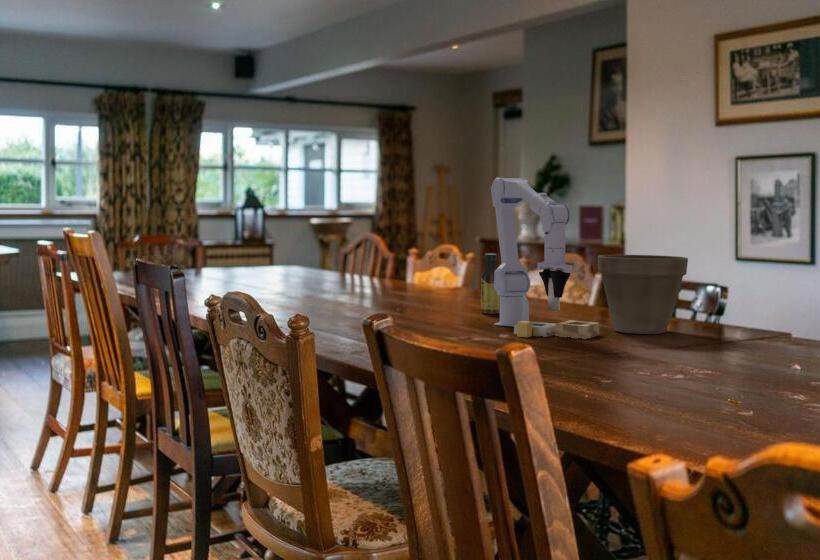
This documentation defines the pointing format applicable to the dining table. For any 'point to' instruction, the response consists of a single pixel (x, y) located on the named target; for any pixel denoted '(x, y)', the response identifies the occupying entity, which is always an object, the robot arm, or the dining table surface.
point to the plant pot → (641, 290)
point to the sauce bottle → (489, 287)
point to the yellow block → (524, 329)
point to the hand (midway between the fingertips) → (554, 297)
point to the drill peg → (552, 298)
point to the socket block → (540, 329)
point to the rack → (577, 329)
